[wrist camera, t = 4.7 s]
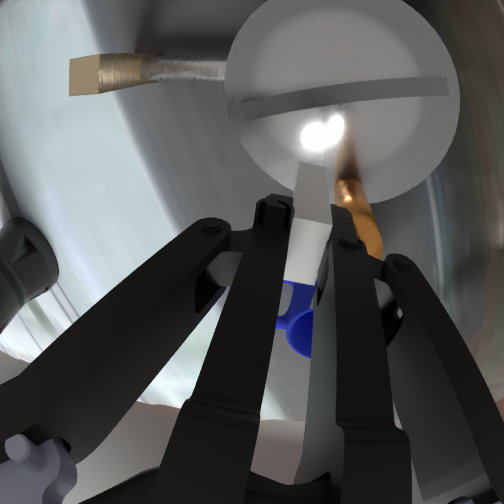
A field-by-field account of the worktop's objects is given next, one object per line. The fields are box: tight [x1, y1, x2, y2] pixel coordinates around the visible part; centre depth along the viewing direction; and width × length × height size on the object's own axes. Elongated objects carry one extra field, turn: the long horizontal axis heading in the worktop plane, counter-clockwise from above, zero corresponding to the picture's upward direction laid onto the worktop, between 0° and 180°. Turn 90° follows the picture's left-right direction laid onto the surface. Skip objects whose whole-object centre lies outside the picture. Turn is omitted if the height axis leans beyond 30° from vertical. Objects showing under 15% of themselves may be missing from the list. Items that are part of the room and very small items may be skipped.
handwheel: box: [224, 0, 460, 259], centre depth 13 cm, size 15×15×8 cm
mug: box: [275, 276, 318, 358], centre depth 32 cm, size 8×12×10 cm
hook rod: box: [69, 53, 228, 96], centre depth 20 cm, size 25×3×10 cm, turn 84°
